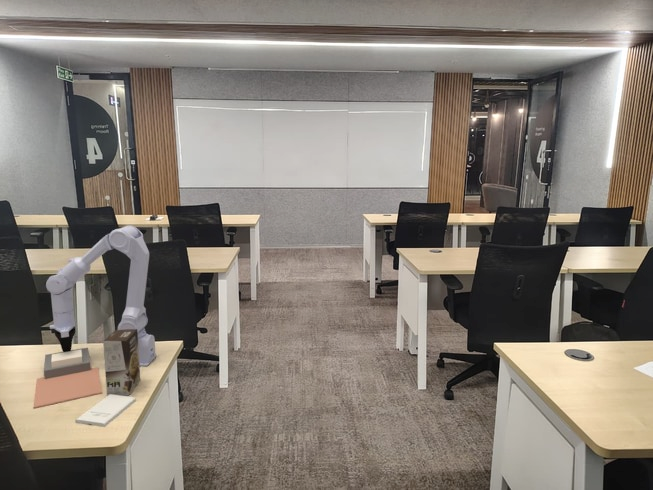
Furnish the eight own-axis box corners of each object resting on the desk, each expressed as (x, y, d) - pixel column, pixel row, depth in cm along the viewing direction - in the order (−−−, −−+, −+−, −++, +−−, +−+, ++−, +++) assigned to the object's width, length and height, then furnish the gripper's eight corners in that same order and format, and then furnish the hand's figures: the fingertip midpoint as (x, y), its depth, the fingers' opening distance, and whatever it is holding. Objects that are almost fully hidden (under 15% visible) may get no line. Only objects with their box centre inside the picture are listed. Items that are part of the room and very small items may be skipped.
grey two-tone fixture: (46, 363, 139) (45, 354, 139) (88, 355, 145) (88, 347, 145) (44, 380, 128) (43, 370, 128) (90, 371, 134) (90, 362, 134)
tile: (52, 360, 135) (51, 354, 134) (81, 355, 139) (81, 349, 138) (51, 368, 130) (51, 361, 129) (82, 362, 134) (82, 356, 133)
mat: (36, 379, 129) (36, 378, 128) (97, 368, 137) (97, 366, 137) (33, 408, 113) (33, 407, 113) (102, 393, 121) (102, 392, 121)
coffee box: (130, 395, 120) (126, 340, 118) (106, 396, 120) (101, 340, 117) (141, 380, 129) (138, 328, 127) (119, 380, 129) (115, 328, 126)
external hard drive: (136, 402, 118) (104, 429, 106) (109, 399, 120) (75, 424, 108) (135, 397, 118) (104, 422, 106) (109, 393, 119) (74, 418, 107)
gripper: (49, 306, 142) (52, 345, 144) (47, 319, 129) (51, 362, 132) (73, 303, 145) (77, 341, 148) (74, 315, 133) (78, 357, 135)
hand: (67, 351), depth 140 cm, fingers closed
